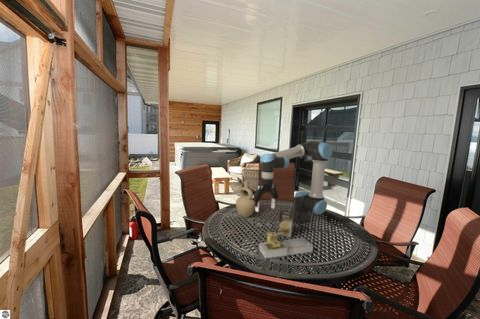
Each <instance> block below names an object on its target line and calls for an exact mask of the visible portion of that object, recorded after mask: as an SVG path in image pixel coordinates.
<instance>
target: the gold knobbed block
mask: <svg viewBox="0 0 480 319" xmlns="http://www.w3.org/2000/svg"><path fill="white" fill-rule="evenodd" d="M266 236H267V237H266V242H269V241H275V240H277V241H279V239H278V238H279V235H278V233H276V232H275V231H269V232H267V235H266Z"/></svg>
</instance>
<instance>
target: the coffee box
mask: <svg viewBox="0 0 480 319" xmlns="http://www.w3.org/2000/svg"><path fill="white" fill-rule="evenodd" d="M293 221H294V220H293V211H289V210H288V211H287V210H283V209H280V211H279V217H278V228H277V229H278V231H277V235H278V236H282V237H286V238H291V237H292V232H293Z"/></svg>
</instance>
